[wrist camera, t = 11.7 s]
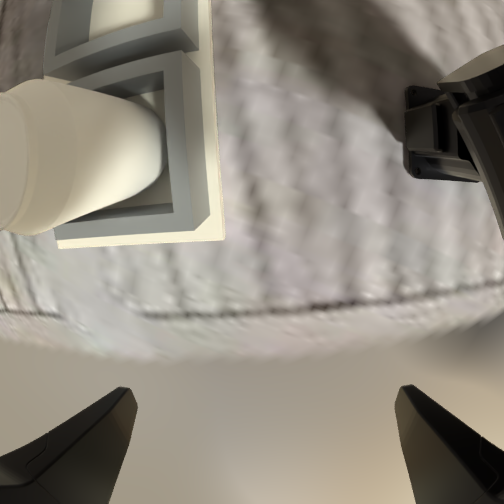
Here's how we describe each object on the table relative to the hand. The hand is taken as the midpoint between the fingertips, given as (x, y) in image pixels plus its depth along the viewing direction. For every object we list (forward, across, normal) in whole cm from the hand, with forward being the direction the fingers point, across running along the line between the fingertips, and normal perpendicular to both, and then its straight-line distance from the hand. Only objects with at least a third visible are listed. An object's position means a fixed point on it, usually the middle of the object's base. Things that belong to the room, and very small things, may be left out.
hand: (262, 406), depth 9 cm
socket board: (+13, +10, -14) cm, 22 cm away
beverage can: (+12, +9, -9) cm, 17 cm away
